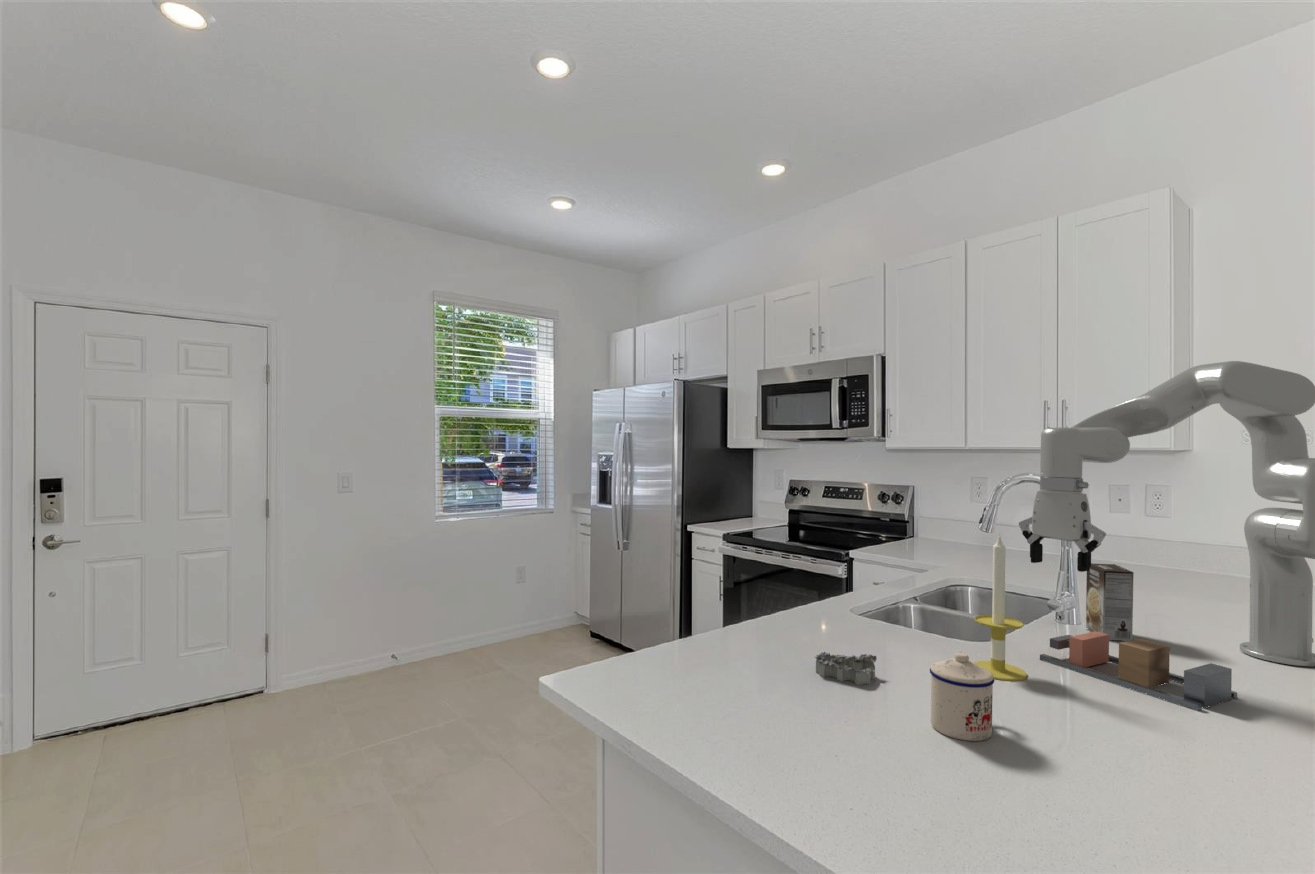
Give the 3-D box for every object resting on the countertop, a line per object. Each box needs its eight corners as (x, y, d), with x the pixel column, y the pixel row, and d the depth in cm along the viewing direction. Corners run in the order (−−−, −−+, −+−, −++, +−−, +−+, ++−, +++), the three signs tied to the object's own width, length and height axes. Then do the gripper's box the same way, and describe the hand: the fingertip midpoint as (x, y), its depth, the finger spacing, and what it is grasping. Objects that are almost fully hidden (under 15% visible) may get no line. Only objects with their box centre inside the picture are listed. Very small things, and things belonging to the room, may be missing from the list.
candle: (969, 675, 121) (971, 535, 122) (968, 659, 130) (970, 528, 131) (1029, 684, 117) (1031, 539, 117) (1024, 667, 126) (1026, 532, 126)
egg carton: (879, 677, 121) (879, 655, 121) (866, 689, 115) (866, 666, 115) (825, 664, 127) (826, 643, 127) (810, 675, 121) (811, 653, 121)
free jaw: (1072, 650, 136) (1072, 625, 136) (1108, 661, 129) (1109, 634, 129) (1045, 656, 132) (1046, 630, 132) (1082, 668, 125) (1082, 640, 125)
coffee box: (1084, 628, 154) (1085, 562, 154) (1113, 630, 152) (1114, 563, 152) (1102, 640, 145) (1103, 570, 145) (1134, 642, 143) (1135, 571, 143)
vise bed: (1078, 651, 137) (1078, 625, 137) (1237, 698, 112) (1237, 667, 112) (1039, 659, 131) (1040, 632, 131) (1198, 711, 106) (1198, 678, 107)
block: (1139, 674, 124) (1139, 638, 124) (1169, 683, 119) (1169, 646, 119) (1118, 679, 121) (1118, 643, 121) (1148, 689, 116) (1148, 651, 116)
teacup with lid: (975, 749, 92) (976, 669, 92) (917, 725, 100) (918, 651, 100) (1013, 727, 99) (1014, 653, 99) (956, 707, 107) (957, 638, 107)
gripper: (1115, 488, 128) (1114, 573, 128) (1031, 482, 143) (1029, 558, 143) (1094, 489, 125) (1093, 576, 125) (1010, 483, 140) (1009, 560, 140)
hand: (1059, 566), depth 134 cm, fingers open, 9 cm apart
